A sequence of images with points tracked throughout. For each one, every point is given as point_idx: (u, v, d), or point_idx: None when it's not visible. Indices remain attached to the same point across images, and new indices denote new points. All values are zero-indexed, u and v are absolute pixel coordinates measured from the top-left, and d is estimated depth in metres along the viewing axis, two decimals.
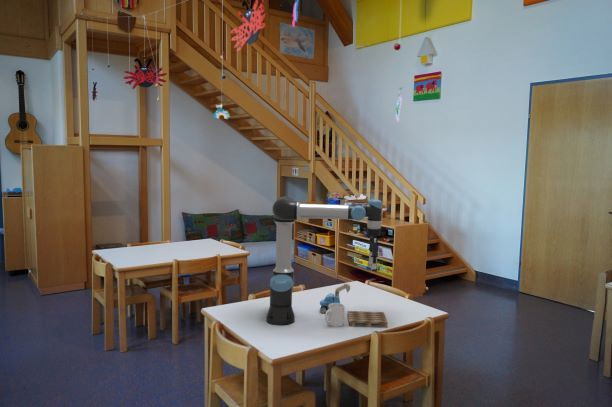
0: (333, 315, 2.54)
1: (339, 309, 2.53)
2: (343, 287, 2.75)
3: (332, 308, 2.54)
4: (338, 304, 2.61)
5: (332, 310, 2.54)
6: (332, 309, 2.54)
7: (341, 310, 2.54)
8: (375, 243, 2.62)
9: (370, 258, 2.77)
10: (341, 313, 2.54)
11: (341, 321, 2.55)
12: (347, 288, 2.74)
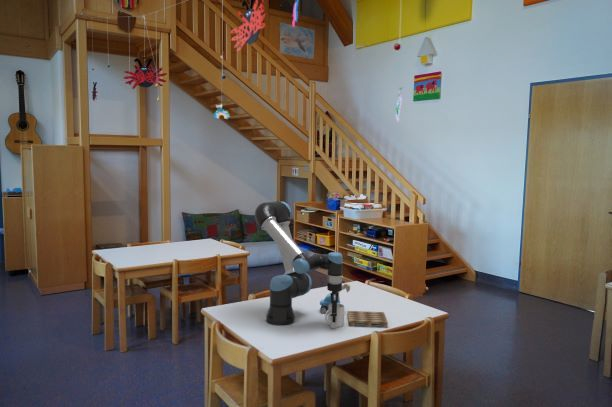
0: None
1: (339, 309, 2.53)
2: (343, 287, 2.75)
3: None
4: (338, 304, 2.60)
5: None
6: None
7: (341, 310, 2.54)
8: (335, 301, 2.49)
9: None
10: (341, 313, 2.54)
11: (341, 321, 2.54)
12: (347, 288, 2.74)
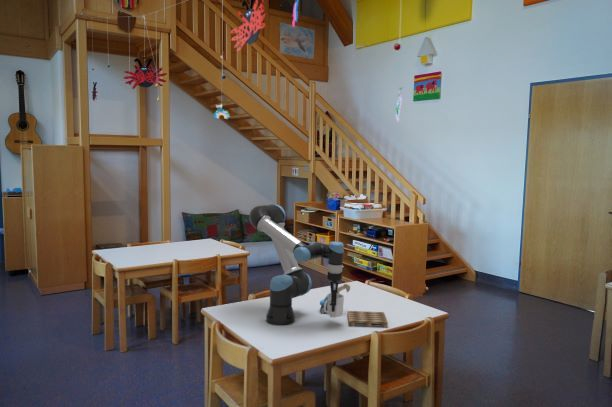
0: None
1: (338, 299, 2.52)
2: (343, 287, 2.75)
3: None
4: (338, 294, 2.60)
5: None
6: None
7: (340, 300, 2.53)
8: (334, 291, 2.49)
9: None
10: (340, 303, 2.53)
11: (340, 311, 2.54)
12: (347, 288, 2.74)
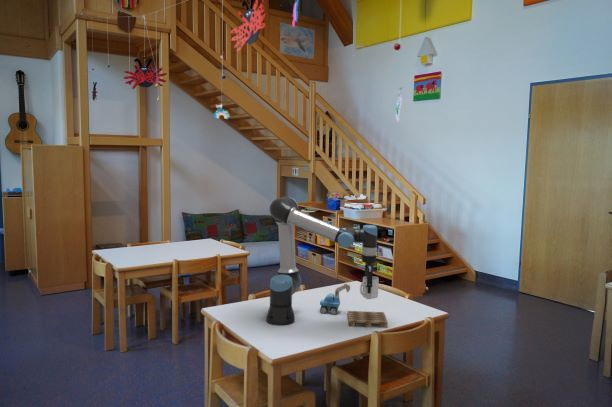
0: None
1: (374, 281, 2.58)
2: (343, 287, 2.75)
3: None
4: (372, 277, 2.65)
5: None
6: None
7: (376, 282, 2.58)
8: (370, 272, 2.54)
9: None
10: (375, 285, 2.58)
11: (375, 293, 2.59)
12: (347, 288, 2.74)
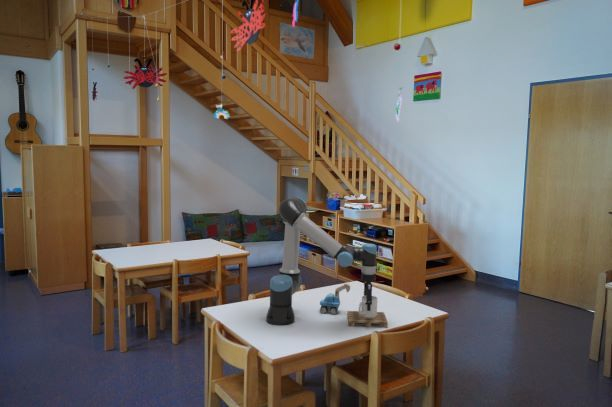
0: None
1: (372, 301, 2.59)
2: (343, 287, 2.75)
3: (365, 300, 2.59)
4: None
5: (365, 302, 2.59)
6: (365, 301, 2.59)
7: (374, 302, 2.59)
8: (369, 290, 2.54)
9: None
10: (374, 305, 2.59)
11: (374, 313, 2.60)
12: (347, 288, 2.74)
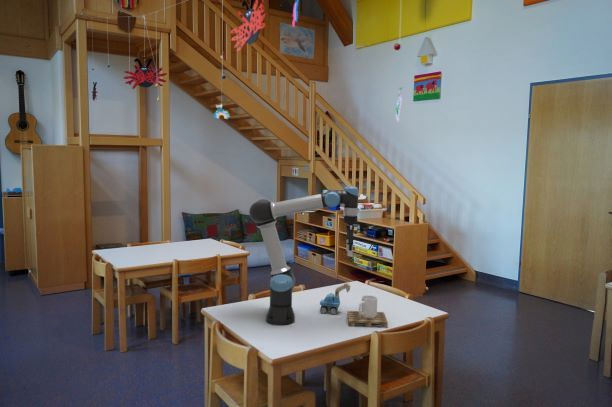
0: (366, 307, 2.59)
1: (372, 301, 2.59)
2: (343, 287, 2.75)
3: (365, 300, 2.59)
4: (371, 296, 2.66)
5: (365, 302, 2.59)
6: (365, 301, 2.59)
7: (374, 302, 2.59)
8: (351, 230, 2.61)
9: (347, 246, 2.75)
10: (374, 305, 2.59)
11: (374, 313, 2.60)
12: (347, 288, 2.74)
